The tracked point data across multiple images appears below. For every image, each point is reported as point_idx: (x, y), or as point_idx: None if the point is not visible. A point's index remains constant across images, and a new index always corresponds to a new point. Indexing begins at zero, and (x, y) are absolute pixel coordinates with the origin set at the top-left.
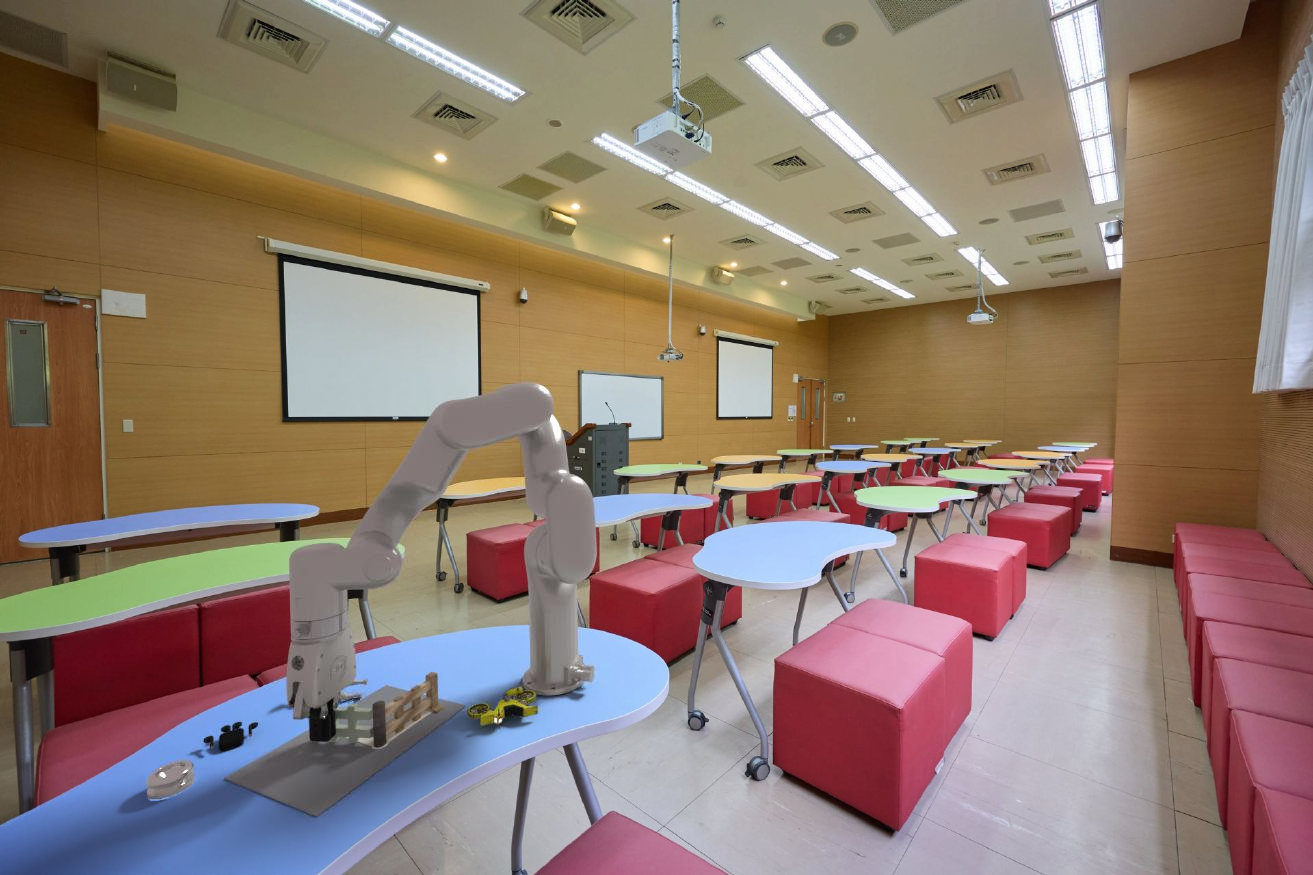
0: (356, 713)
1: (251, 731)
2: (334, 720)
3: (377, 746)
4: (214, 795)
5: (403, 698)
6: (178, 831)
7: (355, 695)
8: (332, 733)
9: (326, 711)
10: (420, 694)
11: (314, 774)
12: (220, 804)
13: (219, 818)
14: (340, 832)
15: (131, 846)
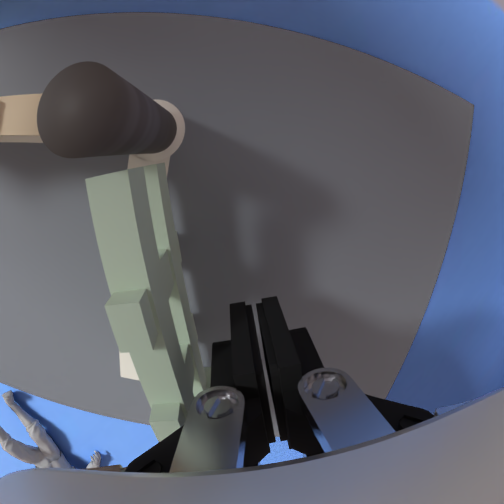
0: (150, 265)
1: None
2: (242, 341)
3: (175, 121)
4: (410, 400)
5: None
6: (483, 359)
7: (16, 408)
8: (248, 310)
9: (309, 398)
10: None
11: (351, 244)
12: (437, 366)
13: (471, 328)
14: (480, 27)
15: (492, 383)
